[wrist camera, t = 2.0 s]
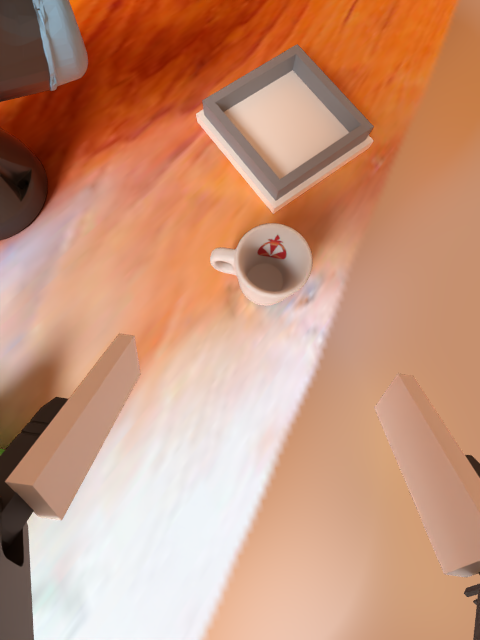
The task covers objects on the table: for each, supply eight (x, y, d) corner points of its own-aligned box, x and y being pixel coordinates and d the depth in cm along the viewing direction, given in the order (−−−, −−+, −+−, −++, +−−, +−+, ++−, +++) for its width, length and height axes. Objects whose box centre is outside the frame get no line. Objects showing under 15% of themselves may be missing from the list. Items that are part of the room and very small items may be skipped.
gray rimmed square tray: (197, 121, 37) (194, 99, 33) (292, 64, 39) (298, 37, 36) (273, 213, 35) (277, 199, 31) (369, 147, 37) (382, 128, 34)
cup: (206, 301, 32) (198, 281, 25) (220, 244, 34) (216, 209, 26) (288, 318, 32) (306, 304, 25) (298, 261, 34) (319, 230, 26)
